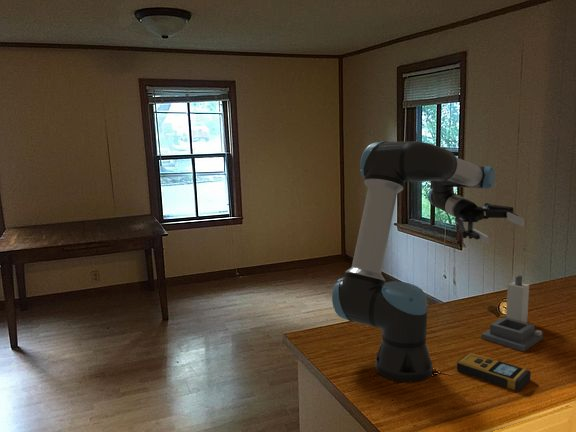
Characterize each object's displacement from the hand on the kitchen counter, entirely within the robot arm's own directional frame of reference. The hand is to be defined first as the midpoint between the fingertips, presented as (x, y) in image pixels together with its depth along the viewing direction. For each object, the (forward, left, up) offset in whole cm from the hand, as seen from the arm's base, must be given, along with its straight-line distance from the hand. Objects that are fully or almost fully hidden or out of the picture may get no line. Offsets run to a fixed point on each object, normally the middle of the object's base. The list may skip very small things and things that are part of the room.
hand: (505, 231), depth 153 cm
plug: (+9, -1, -32) cm, 33 cm away
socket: (-5, -6, -32) cm, 33 cm away
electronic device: (-31, -13, -33) cm, 47 cm away
